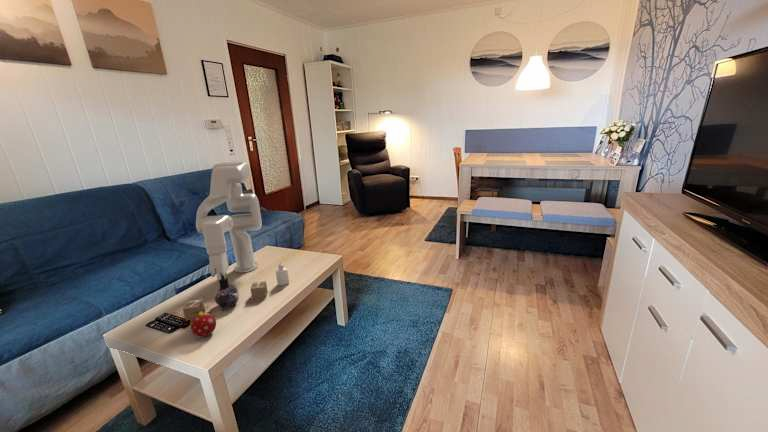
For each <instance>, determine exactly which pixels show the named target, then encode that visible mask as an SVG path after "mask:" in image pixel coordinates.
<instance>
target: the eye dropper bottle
mask: <svg viewBox="0 0 768 432" xmlns="http://www.w3.org/2000/svg"><path fill="white" fill-rule="evenodd" d="M275 276H276V284H277V286H279V287H280V286H281V287H282V286H286V285H288V284H290V280H289V279H290V278H289V271H288V269H287V268H286V267H284V264H283V263H282V262H281V261H279V264H278V267H277V269H276V270H275Z"/></svg>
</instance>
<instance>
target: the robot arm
mask: <svg viewBox="0 0 768 432" xmlns="http://www.w3.org/2000/svg"><path fill="white" fill-rule="evenodd" d="M250 175H251V168H250V165H249V163H248V162H245V161H231V162H219V163H216V164H214V165H213V166H212V171H211V178H210V188H209V195H208V196H207V197H206V198H205V199H204V200H203V201H202V202H201V203H200V204H199V206H198V208H197V210H196V217H195V228H196V231H197V232H198V233H199V234H203V237H204V238H203V239H204V242H205V243H204V244H205V248H206V253H207V255H208V257H209V258H208V260H209V268H210V273H211V277H212V278H214V277H215V276H216V279H217V281H218V284H219V288H228V286H229V284H230V283H229V278H228V273H227V271H228V269H229V267H230V266H229V265H230V264H229V260H228V255H227V252H228V248H227V243H226V238H225V233H228V232H229V235H230V239H231V243H232V248H233V253H234V254H233V255H234V259H235V263H236V265H235V266H234V268H233V270H234V272H236V273H239V274H240V273H241V274H243V273H248V272H252V271H254V270H255V269H257V268H258V267H259V263H258V262H257V261H256V260H255V256H254V250H253V244H252V238H251V235H249V233H248V232H251V231H252V232H253V231H258V230H260V229H261V228H262V227H263V226H262V215H261V214H262V213H261V208H260V201H259V199H258V196H257V195H256V194H254V193H243V188H242V184H243V183H245V182H246V181H247V180H248V178H249V177H250ZM224 203H226V207H227V210H228V211H229V212H230V213H237V214H233V215H226V214H219V215H208V213H210V212H211V210H213V209H215V208H216V207H218V206H221V205H222V204H224ZM241 212H250V213H241ZM238 213H239V214H238Z"/></svg>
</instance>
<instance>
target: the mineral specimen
mask: <svg viewBox="0 0 768 432" xmlns="http://www.w3.org/2000/svg"><path fill="white" fill-rule="evenodd" d="M239 295H240V293H239V290H238V289H237V287H236V286H235V285H234V284H232V283H231V284H230V283H229V286H228V288H220V287H218V289H217V290H216V292H215V294H214V302H215V303H216V304H217V306H218V307H219V308H220V309H221V310H224V309H227V308H229V307H232V306H235V305H236V304H237V303H238V301H239Z"/></svg>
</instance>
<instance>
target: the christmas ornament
mask: <svg viewBox="0 0 768 432" xmlns="http://www.w3.org/2000/svg"><path fill="white" fill-rule="evenodd" d="M216 325H217V320H216V318H215V316H213V315H212V314H211V313H207V312H205V313H202V312H199V315H198V316H196V317H195V318H194V319H193V320H191V322H190V331H191V333H192V334H193V335H194V336H196V337H197V338H198V337H199V338H200V337H201V338H202V337H203V338H205V337H207V336H209V335H211V334H212V333H213V332H214V331H215V329H216Z"/></svg>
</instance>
